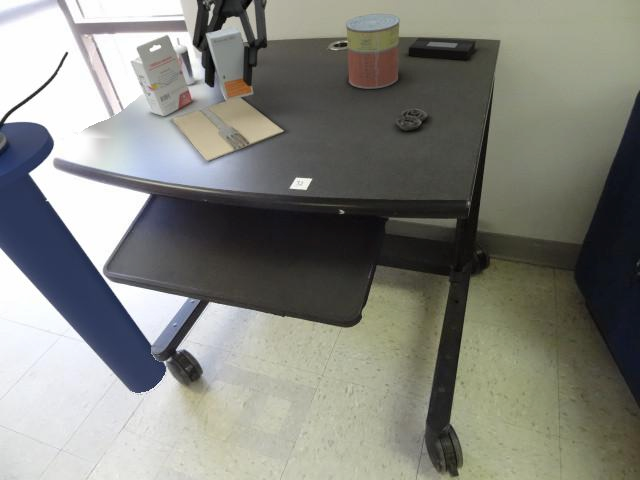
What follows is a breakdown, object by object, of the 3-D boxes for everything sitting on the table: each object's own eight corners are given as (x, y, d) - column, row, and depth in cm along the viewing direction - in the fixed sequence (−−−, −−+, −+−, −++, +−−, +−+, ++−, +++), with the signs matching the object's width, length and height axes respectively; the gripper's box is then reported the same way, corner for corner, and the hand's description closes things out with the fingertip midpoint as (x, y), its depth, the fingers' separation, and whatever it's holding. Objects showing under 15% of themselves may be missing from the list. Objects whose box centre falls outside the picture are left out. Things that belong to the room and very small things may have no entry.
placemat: (172, 120, 87) (172, 119, 87) (239, 97, 92) (239, 96, 92) (207, 161, 73) (206, 160, 72) (283, 132, 78) (283, 130, 78)
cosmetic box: (226, 102, 80) (208, 38, 72) (221, 94, 83) (204, 32, 75) (255, 94, 82) (241, 31, 73) (249, 87, 85) (235, 25, 76)
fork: (197, 112, 88) (196, 110, 88) (210, 108, 89) (209, 106, 89) (234, 149, 74) (233, 147, 74) (249, 143, 75) (248, 141, 75)
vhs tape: (418, 45, 105) (419, 37, 104) (474, 49, 99) (475, 40, 98) (408, 55, 100) (408, 47, 99) (466, 60, 94) (467, 51, 93)
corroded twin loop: (391, 130, 74) (391, 125, 73) (405, 111, 79) (405, 106, 78) (417, 134, 72) (417, 129, 71) (430, 114, 77) (431, 109, 76)
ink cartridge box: (180, 98, 96) (156, 31, 86) (193, 101, 93) (170, 34, 83) (150, 113, 91) (122, 44, 81) (163, 117, 89) (136, 47, 79)
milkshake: (199, 77, 105) (186, 36, 98) (195, 85, 101) (182, 43, 94) (182, 79, 105) (168, 39, 98) (178, 87, 101) (163, 45, 94)
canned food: (376, 65, 98) (375, 11, 90) (408, 77, 91) (411, 19, 83) (339, 79, 94) (335, 23, 86) (370, 93, 87) (369, 33, 78)
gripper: (287, -25, 80) (283, 89, 79) (194, -16, 83) (190, 93, 83) (276, -53, 72) (272, 73, 72) (175, -42, 76) (170, 78, 76)
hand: (228, 83), depth 77 cm, fingers closed on cosmetic box, 7 cm apart
